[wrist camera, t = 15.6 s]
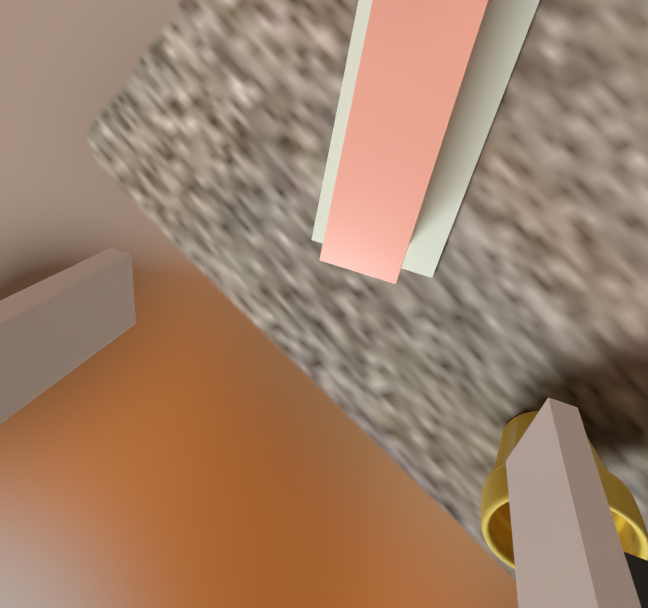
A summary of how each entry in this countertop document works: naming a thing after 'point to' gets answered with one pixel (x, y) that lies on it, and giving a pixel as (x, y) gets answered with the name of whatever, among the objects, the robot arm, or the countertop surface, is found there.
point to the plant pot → (498, 506)
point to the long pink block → (397, 128)
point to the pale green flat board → (462, 133)
